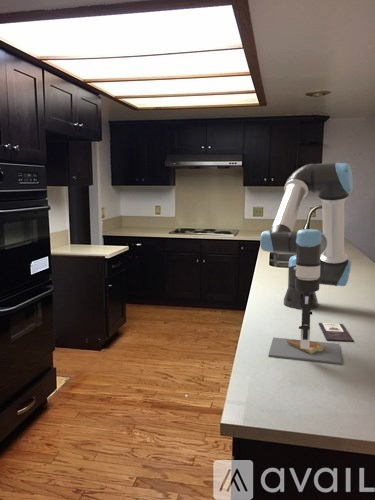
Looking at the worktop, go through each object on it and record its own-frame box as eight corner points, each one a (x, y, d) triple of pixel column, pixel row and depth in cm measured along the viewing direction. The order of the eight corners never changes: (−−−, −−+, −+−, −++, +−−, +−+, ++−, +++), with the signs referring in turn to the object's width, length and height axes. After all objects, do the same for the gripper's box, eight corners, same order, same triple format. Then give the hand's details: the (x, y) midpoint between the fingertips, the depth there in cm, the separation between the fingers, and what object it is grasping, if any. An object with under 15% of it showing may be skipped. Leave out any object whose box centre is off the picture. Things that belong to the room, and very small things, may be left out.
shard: (285, 343, 140) (286, 338, 139) (302, 339, 143) (302, 334, 143) (309, 354, 130) (309, 349, 130) (326, 350, 134) (326, 344, 134)
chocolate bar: (326, 339, 144) (318, 322, 161) (326, 341, 144) (318, 325, 162) (353, 340, 142) (342, 323, 160) (353, 343, 143) (342, 326, 160)
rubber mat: (273, 338, 146) (273, 337, 146) (338, 345, 139) (338, 343, 139) (268, 356, 131) (268, 354, 131) (341, 364, 124) (341, 362, 124)
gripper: (296, 269, 144) (295, 327, 148) (293, 286, 121) (291, 354, 124) (319, 270, 142) (316, 329, 145) (320, 287, 119) (317, 356, 122)
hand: (305, 340), depth 135 cm, fingers open, 13 cm apart
